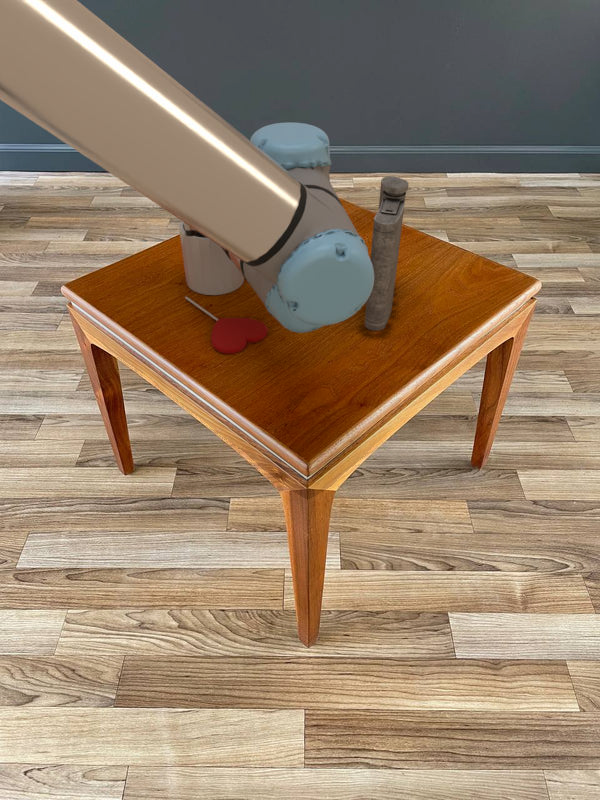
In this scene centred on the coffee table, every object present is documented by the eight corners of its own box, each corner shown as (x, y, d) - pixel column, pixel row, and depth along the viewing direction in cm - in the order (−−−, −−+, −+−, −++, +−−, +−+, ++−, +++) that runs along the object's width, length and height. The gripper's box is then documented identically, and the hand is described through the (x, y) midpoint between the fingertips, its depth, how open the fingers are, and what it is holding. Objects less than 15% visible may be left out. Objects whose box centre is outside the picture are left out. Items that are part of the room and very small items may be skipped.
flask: (396, 278, 98) (411, 160, 85) (390, 332, 87) (405, 207, 75) (372, 275, 98) (383, 158, 86) (363, 329, 87) (374, 205, 75)
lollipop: (162, 310, 91) (226, 359, 83) (161, 305, 90) (226, 354, 82) (208, 290, 95) (274, 334, 87) (208, 284, 94) (274, 329, 86)
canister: (180, 293, 94) (172, 238, 88) (192, 263, 100) (186, 209, 94) (239, 296, 93) (235, 240, 87) (248, 266, 100) (245, 212, 94)
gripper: (197, 283, 75) (145, 203, 91) (314, 255, 80) (245, 184, 96) (190, 224, 70) (136, 150, 86) (315, 198, 75) (242, 132, 90)
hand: (193, 168), depth 91 cm, fingers closed on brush, 2 cm apart
